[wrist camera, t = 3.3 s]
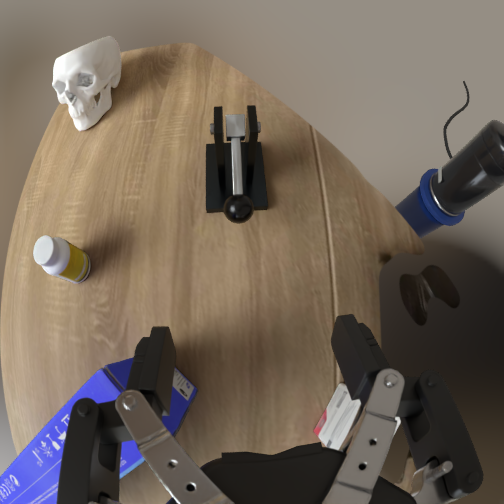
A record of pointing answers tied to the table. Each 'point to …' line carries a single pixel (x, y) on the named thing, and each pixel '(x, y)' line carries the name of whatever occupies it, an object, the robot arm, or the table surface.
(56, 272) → the supplement bottle
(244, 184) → the lever stand
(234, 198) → the tap lever
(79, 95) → the skull planter
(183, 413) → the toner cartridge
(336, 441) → the ink box
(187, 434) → the table surface
